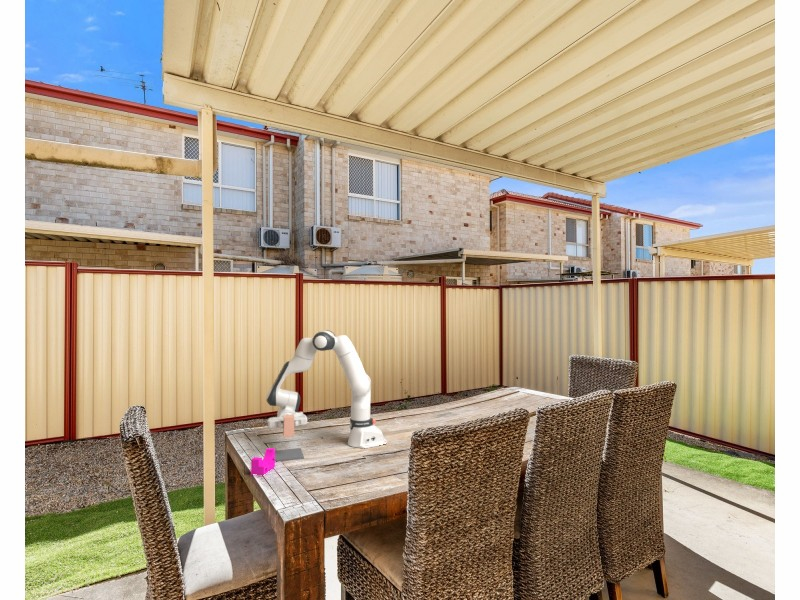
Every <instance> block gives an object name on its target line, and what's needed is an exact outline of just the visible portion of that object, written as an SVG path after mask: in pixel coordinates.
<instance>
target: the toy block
mask: <svg viewBox="0 0 800 600" xmlns="http://www.w3.org/2000/svg"><path fill="white" fill-rule="evenodd" d="M275 451H276V448H274V447H273V448H272V447H267V448H266V449H265V453H264V457H261V456H260V457H259V456H257V457H256V456H254V457H253V458H251V460H250V461H251V462H250V476H252V475H253V474H257V475H264V474H266V473H267V472H268V471H270V470H271V469H272V470H274V469H275V468H276V462H275ZM274 467H275V468H274ZM273 468H274V469H273ZM272 470H271V471H272ZM271 471H270V472H271ZM267 474H268V473H267ZM267 474H266V475H267Z"/></svg>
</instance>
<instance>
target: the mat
mask: <svg viewBox="0 0 800 600" xmlns="http://www.w3.org/2000/svg"><path fill="white" fill-rule="evenodd" d="M295 460H305V455H304V453H303V451H302V447H297V448H296V447H295V448H288V449H279V450H278V449H277V450H275V461H280V462H285V461H288V462H289V461H295Z"/></svg>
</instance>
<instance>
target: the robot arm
mask: <svg viewBox="0 0 800 600" xmlns="http://www.w3.org/2000/svg"><path fill="white" fill-rule="evenodd" d="M331 350H332V351H333V352H334V353H335V356H336V357H337V359H338V360H339V364H340V366H341V367H342V369H343V373H344V375H345V378H346V380H347V384H348V385H349V388H350V390H351V401H350V418H349V434H348V435H349V436H348V441H347V445H348V446H350V447H353V448H359V449H364V448H365V449H369V448H374V447H379V445H381V446H384V445H383V444H386V443H387V444H388V440H387V439H386V438H385V437H384V435H383V434H384V433H383V432H382V431H383V430H381V429H380V428H379V427H378V426H376V425H375V424H376V422H377V421H376V420H375V419H374V418H372V417H371V398H372V396H371V395H372V392H371V391H372V380H371V377H370V376H369V375H368V374H367V373H366V370H365V368H364V365H363V363H362V360H361V359H360V356H359V354H358V352H357V350H356V347H355V345H354V343H352V340H351V339H350V338H349V337H348V336H347V335H346V334H340V335H338V336H337V335H335V333H334V332H333V331H331V330H328V329H326V330H321V331H318V332H317V333H315V334H314V336H313V338H312V337H303V338H302V339H300V341H299V343H298V345H297V347H296V349H295V352H294V355H293V357H292V358H291V359H290V360H288V361H286V362H285V363H284V364H283V366H282V367H281V370H280V372H279V373H278V374H277V377H276V378H275V379H274V380H275V381H274V382H273V384H272V386H271V387H270V389H269V391H268V392H267V394H266V397H265V398H266V399H265V401H266V403H267V404H268V405H269V406H273V407H279V408H278V410H277V412H276V413H277V414H276V417H274V416H273V417H269V418H268V419H266V423H267V427H268V428H269V429H272V428H281V429H283V427H284V423H283V421H284V415H294V428H295V427H297V426H306V425H307V424H308V417H307V415H306V414H304V413H303V411H298V410H299V408H300V404H301V396H300V393H299V392H298V391H293V390H289V389H284V388H281V387H282V385H283V383H284V381H285V379H286V377H288V376H289V375H290V374H296V373H304V372H305V371H308V370H309V369H310V368H311V367H312V365H313V362H314V359H315V356H316V353H317V352H318V351H320V352H322V351H323V352H325V351H331ZM387 444H386V445H387Z"/></svg>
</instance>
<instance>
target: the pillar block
mask: <svg viewBox="0 0 800 600" xmlns="http://www.w3.org/2000/svg"><path fill="white" fill-rule="evenodd" d="M283 423H284V427H283V428H282V429H283V430H282V436H283V438H285V439H286V438H294V437H295V427H294V415H284V421H283Z"/></svg>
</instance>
